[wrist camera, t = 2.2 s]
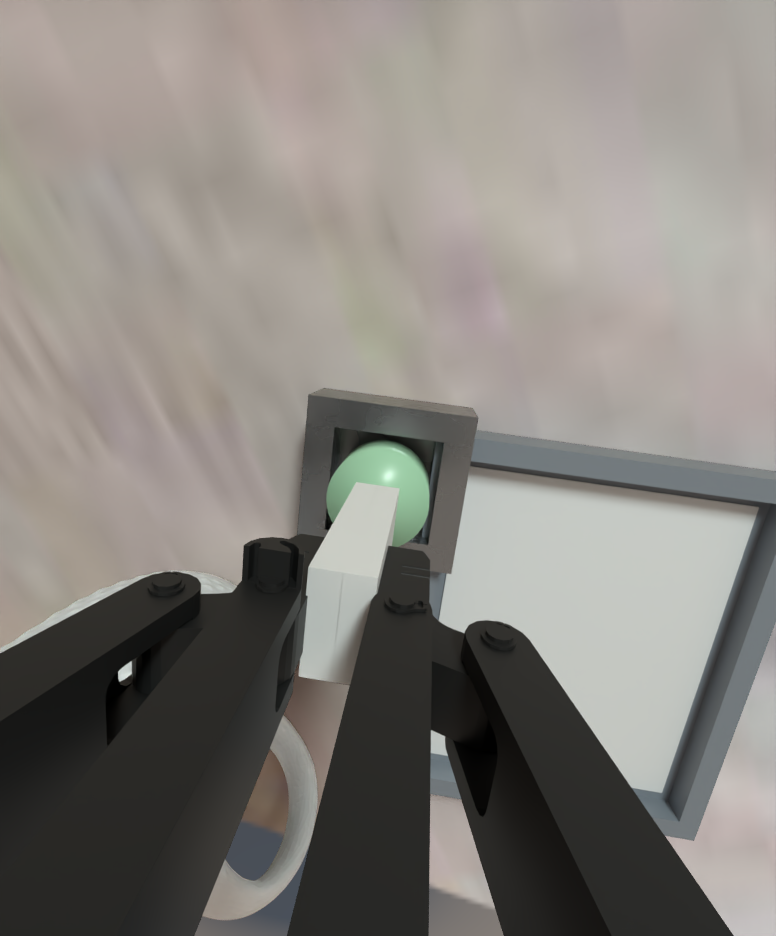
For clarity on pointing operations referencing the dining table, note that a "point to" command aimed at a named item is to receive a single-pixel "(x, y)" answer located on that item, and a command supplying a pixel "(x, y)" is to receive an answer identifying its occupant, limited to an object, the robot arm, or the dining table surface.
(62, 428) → the dining table surface
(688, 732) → the tray
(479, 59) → the dining table surface
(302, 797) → the mug
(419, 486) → the button
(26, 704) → the robot arm
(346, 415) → the grey square frame
